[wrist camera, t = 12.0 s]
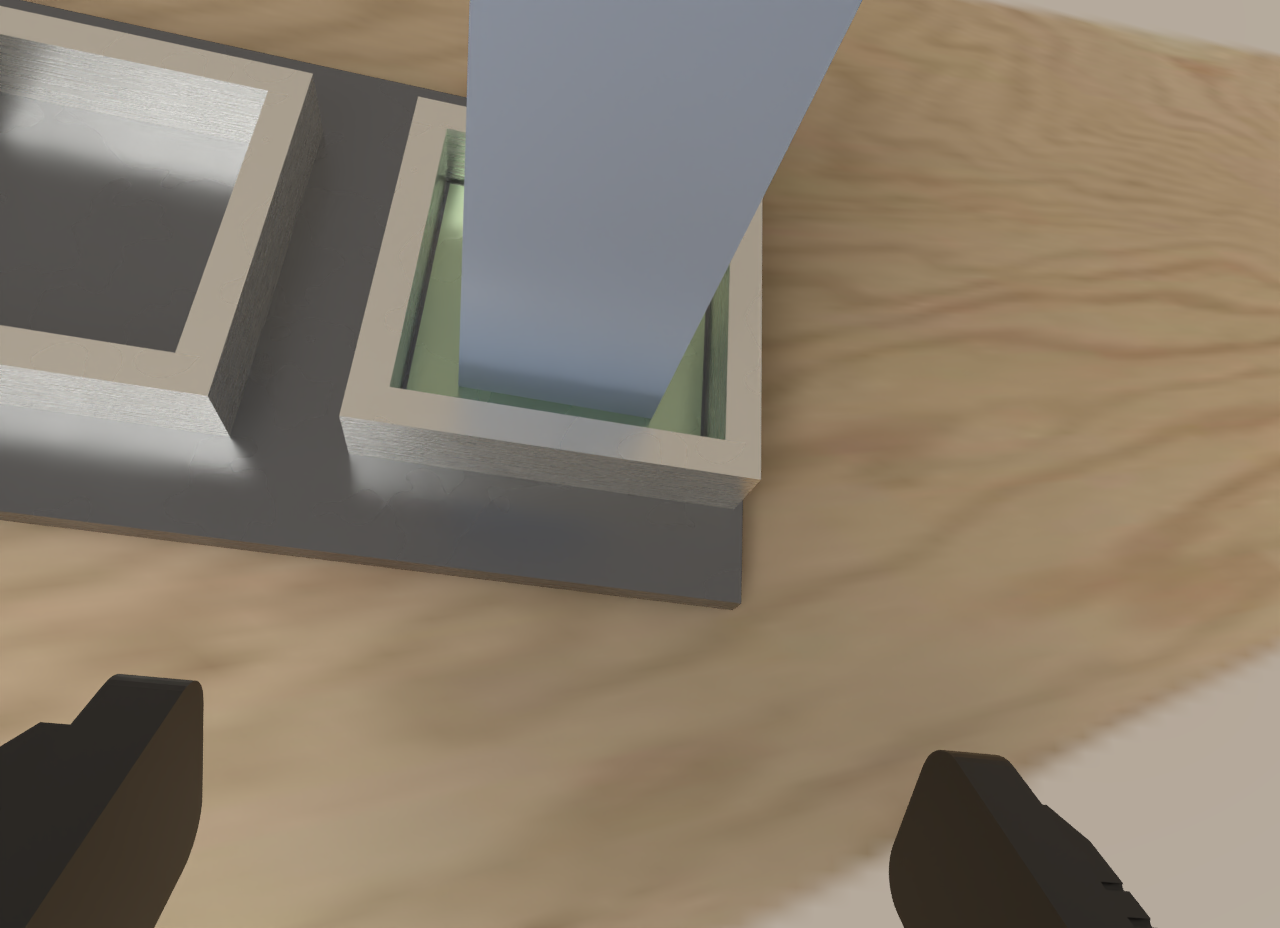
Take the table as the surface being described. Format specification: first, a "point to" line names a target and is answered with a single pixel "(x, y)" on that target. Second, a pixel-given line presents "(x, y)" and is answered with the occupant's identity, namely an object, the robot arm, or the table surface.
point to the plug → (619, 179)
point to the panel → (315, 334)
